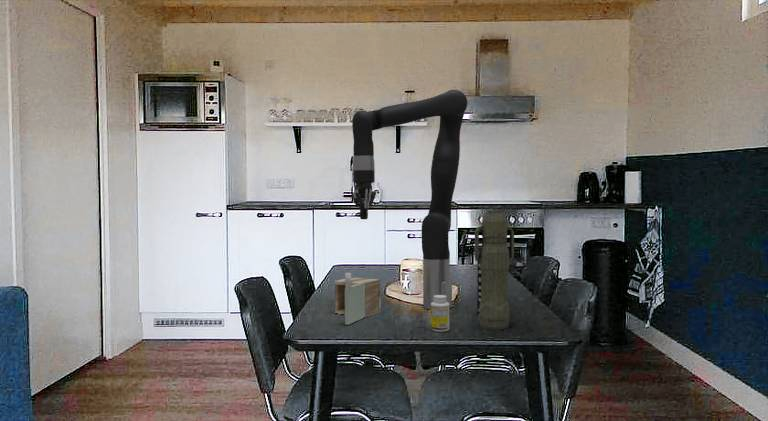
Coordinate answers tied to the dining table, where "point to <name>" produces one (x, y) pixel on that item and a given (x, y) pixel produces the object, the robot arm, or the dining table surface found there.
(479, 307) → the white-spotted black cylinder
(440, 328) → the supplement bottle
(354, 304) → the grey-green rectangular panel
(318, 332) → the dining table surface
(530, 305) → the dining table surface
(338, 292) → the birch box
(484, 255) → the thermos
